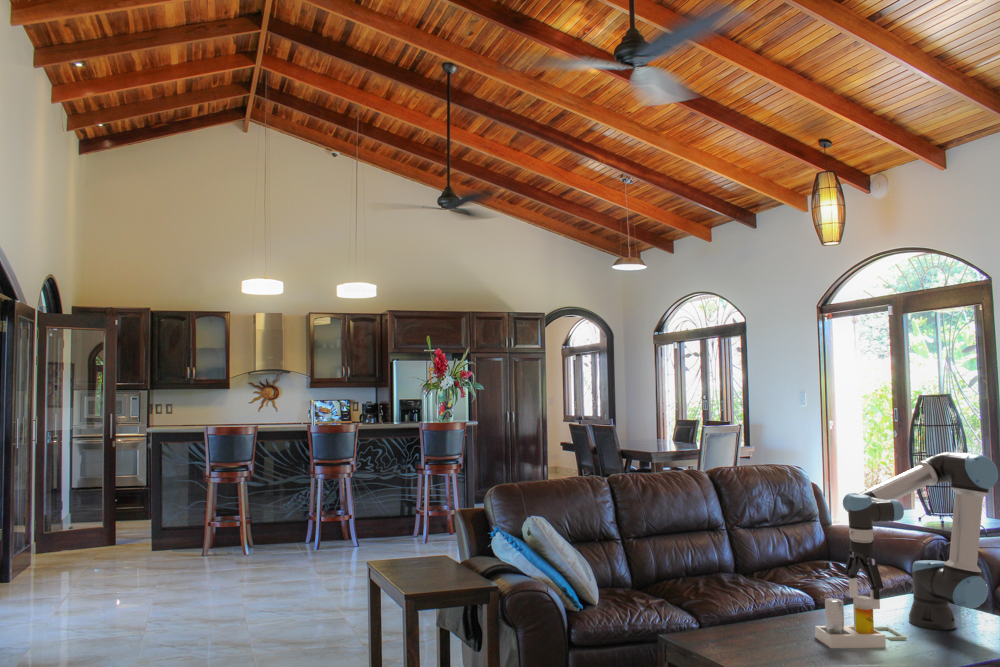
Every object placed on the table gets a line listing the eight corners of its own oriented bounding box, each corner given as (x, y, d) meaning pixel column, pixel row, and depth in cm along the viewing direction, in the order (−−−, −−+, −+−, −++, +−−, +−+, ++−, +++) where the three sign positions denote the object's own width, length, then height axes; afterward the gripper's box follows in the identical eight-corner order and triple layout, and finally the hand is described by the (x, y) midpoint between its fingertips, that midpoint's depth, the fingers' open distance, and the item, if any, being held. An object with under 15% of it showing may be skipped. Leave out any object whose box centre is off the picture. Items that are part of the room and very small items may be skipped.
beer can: (876, 645, 255) (874, 600, 256) (857, 644, 256) (855, 599, 258) (871, 639, 261) (869, 595, 262) (852, 638, 262) (851, 594, 263)
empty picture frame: (887, 629, 274) (887, 626, 274) (906, 639, 263) (906, 636, 263) (858, 630, 273) (858, 627, 273) (875, 640, 262) (875, 637, 262)
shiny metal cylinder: (839, 639, 261) (837, 598, 262) (847, 645, 255) (846, 603, 256) (822, 639, 261) (821, 598, 262) (831, 645, 255) (830, 603, 256)
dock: (867, 638, 265) (867, 624, 265) (885, 648, 254) (885, 635, 254) (815, 639, 263) (815, 625, 264) (831, 650, 252) (831, 636, 253)
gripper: (832, 533, 273) (835, 593, 272) (871, 548, 249) (874, 614, 247) (852, 533, 274) (855, 592, 273) (892, 547, 249) (896, 613, 248)
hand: (864, 602), depth 260 cm, fingers open, 13 cm apart
